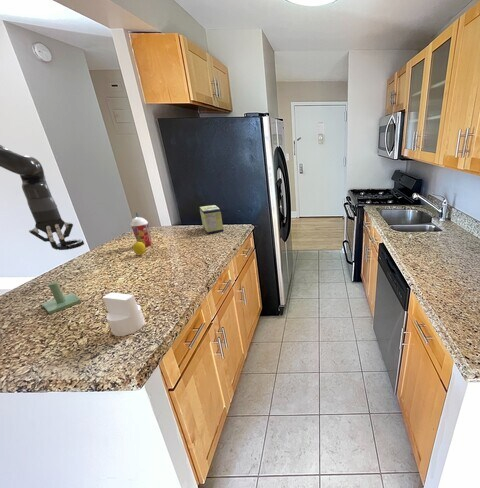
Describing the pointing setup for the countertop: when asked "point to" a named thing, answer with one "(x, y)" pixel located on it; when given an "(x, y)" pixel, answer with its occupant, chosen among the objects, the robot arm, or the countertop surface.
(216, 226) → the protein box
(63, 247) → the ring
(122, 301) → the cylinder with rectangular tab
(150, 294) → the countertop surface
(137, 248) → the lemon
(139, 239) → the smoothie
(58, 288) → the post
